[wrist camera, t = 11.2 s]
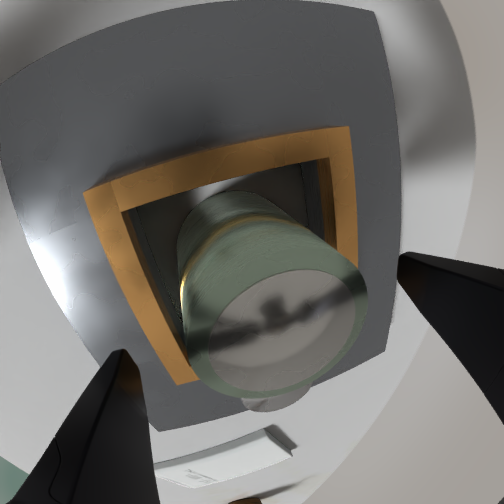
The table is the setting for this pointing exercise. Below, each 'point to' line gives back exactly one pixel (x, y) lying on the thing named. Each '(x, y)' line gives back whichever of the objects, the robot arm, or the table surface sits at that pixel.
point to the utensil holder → (247, 501)
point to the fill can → (263, 298)
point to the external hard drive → (224, 461)
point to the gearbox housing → (200, 166)
